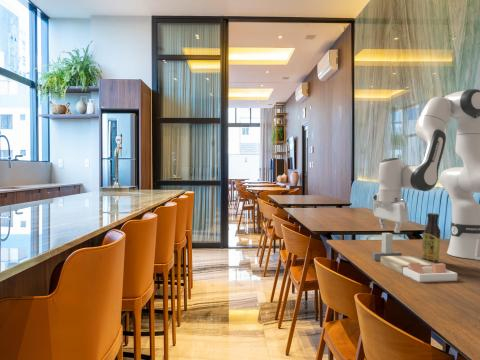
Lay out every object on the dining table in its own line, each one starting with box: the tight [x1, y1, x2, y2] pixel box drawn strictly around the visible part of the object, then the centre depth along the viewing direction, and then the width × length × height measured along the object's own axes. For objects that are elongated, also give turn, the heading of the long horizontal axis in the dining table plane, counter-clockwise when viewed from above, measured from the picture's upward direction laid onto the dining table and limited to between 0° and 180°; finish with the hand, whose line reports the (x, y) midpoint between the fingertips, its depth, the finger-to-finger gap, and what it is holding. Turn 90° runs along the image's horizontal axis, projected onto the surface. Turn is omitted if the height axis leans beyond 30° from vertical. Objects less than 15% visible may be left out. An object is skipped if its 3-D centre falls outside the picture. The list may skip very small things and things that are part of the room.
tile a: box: [432, 262, 447, 274], centre depth 125 cm, size 4×4×2 cm
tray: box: [402, 266, 458, 283], centre depth 124 cm, size 14×9×2 cm, turn 99°
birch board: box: [379, 255, 436, 275], centre depth 136 cm, size 14×14×3 cm
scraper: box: [371, 232, 403, 262], centre depth 148 cm, size 12×3×11 cm, turn 99°
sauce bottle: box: [421, 212, 441, 264], centre depth 145 cm, size 6×6×20 cm
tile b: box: [407, 263, 424, 274], centre depth 126 cm, size 4×4×2 cm
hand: (390, 230), depth 149 cm, fingers open, 8 cm apart
